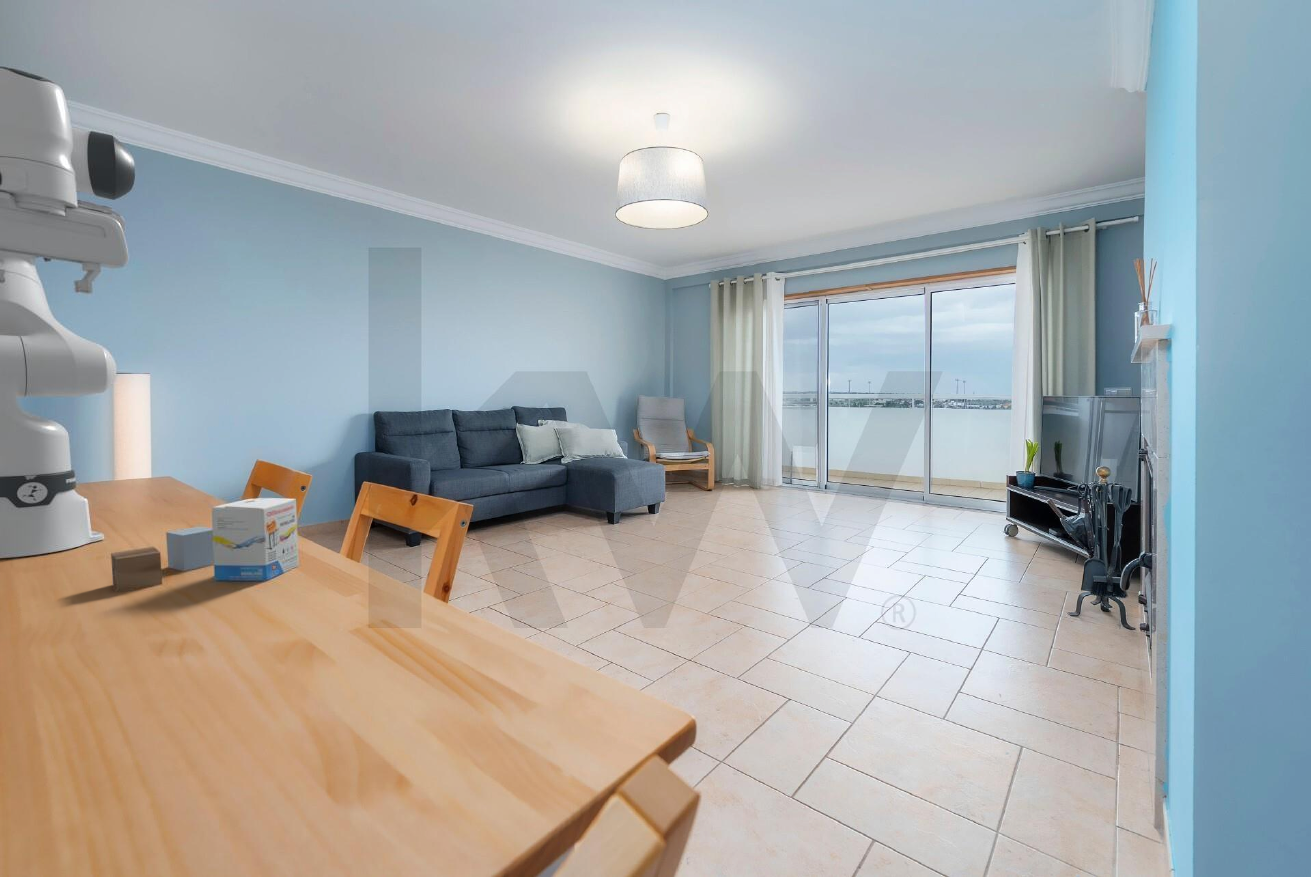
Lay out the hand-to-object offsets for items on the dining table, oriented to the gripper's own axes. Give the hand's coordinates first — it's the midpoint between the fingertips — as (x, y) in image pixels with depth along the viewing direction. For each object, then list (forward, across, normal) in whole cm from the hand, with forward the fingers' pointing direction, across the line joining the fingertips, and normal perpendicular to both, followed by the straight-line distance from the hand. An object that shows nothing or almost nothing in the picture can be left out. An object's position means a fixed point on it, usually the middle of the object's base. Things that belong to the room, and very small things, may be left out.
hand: (41, 288), depth 86 cm
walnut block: (+44, -5, +9) cm, 46 cm away
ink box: (+45, -17, +19) cm, 51 cm away
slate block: (+44, -15, +5) cm, 47 cm away
